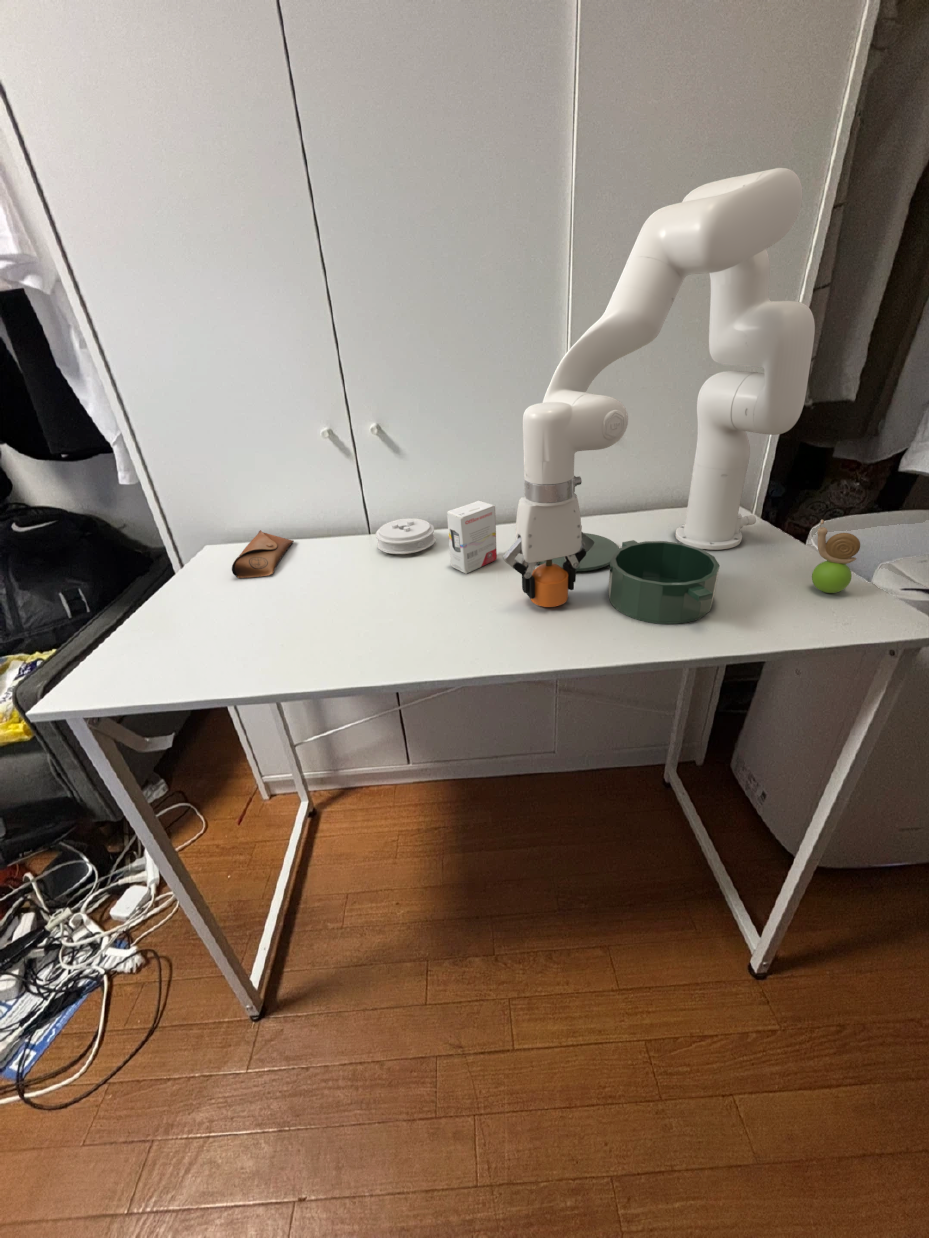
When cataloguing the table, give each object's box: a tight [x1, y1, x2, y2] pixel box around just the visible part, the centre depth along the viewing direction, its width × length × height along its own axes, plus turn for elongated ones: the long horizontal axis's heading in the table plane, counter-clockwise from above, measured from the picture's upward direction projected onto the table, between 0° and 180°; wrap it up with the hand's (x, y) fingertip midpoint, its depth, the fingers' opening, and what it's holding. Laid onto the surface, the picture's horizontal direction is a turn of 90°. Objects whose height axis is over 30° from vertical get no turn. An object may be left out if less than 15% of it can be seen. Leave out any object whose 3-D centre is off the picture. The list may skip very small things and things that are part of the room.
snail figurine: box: [811, 519, 861, 594], centre depth 88 cm, size 5×6×12 cm
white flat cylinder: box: [375, 517, 436, 555], centre depth 118 cm, size 13×13×5 cm
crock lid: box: [536, 524, 620, 572], centre depth 108 cm, size 18×18×6 cm
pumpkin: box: [530, 559, 569, 608], centre depth 92 cm, size 6×6×7 cm
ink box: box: [446, 500, 498, 575], centre depth 106 cm, size 9×5×12 cm, turn 129°
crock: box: [607, 539, 721, 625], centre depth 91 cm, size 17×22×7 cm
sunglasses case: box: [231, 529, 295, 579], centre depth 118 cm, size 18×7×7 cm
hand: (548, 590), depth 93 cm, fingers closed on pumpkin, 6 cm apart
